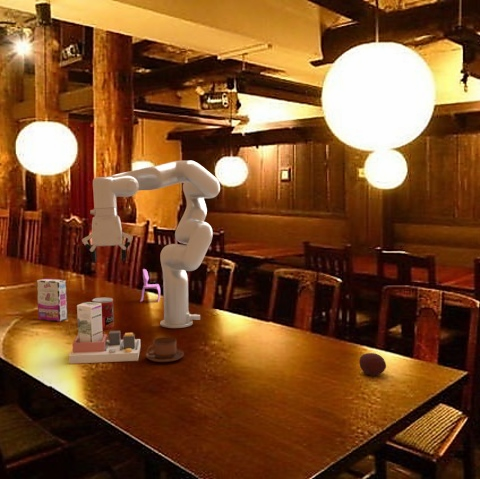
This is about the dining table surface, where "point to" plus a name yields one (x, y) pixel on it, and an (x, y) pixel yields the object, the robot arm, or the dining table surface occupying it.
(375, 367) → the potato
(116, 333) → the block
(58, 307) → the candy bar box
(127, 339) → the tagged breaker
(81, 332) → the syrup box
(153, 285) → the toy chair
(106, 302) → the canned food
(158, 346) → the cup and saucer
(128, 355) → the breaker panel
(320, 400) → the dining table surface
